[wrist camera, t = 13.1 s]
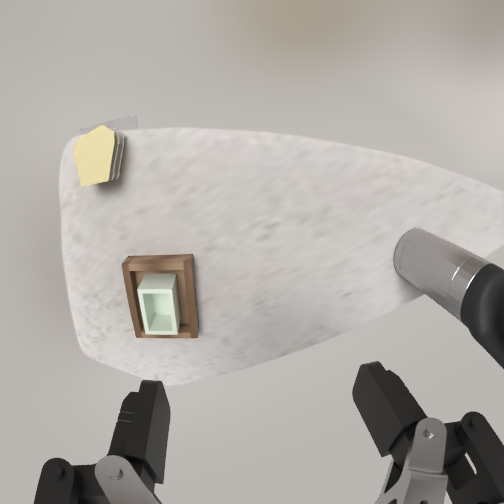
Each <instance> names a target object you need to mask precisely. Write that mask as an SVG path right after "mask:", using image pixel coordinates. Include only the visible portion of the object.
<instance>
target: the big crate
mask: <svg viewBox="0 0 504 504" xmlns="http://www.w3.org/2000/svg"><path fill="white" fill-rule="evenodd" d="M122 269H123V275H124V281H125V287H126V292H127V297H128V302H129V307H130V312H131V317H132V321H133V326H134V330H135V334H136V338H198V327H199V326H198V315H197V305H196V293H195V280H194V266H193V254H186V255H151V256H128V257H127V258H126V260H125V261H124V262H123V263H122ZM172 273H177V282H178V292H179V302H180V310H181V319H180V325H179V331H178V335H153V334H146V333H145V328H144V323H143V318H142V313H141V308H140V303H139V297H138V291H137V289H138V287H139V285H140V283H141V282H142V280H143V278H144V276H145V274H172Z"/></svg>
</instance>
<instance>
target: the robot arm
mask: <svg viewBox="0 0 504 504" xmlns="http://www.w3.org/2000/svg"><path fill="white" fill-rule="evenodd" d="M394 265H395V269H396V271H397V272H398V273H399V274H400V275H401V276H402V277H403V278H405V279H406V280H408V281H409V282H410V283H412V284H413V285H414V286H416V287H417V288H418V289H420V290H421V291H422V292H424V293H425V294H426V295H428V296H429V297H430V298H431V299H433V300H434V301H436V302H437V303H438V304H439V305H441V306H442V307H443V308H444V309H446V310H447V311H448V312H450V313H451V314H452V315H453V316H455V317H456V318H457V319H458V320H460V321H461V322H462V323H463V324H464V325H465V326H467V327H468V329H469V331H470V333H471V335H472V336H473V338H474V339H475V340H476V341H477V342H478V343H479V344H480V345H481V346H482V347H483V348H484V349H485V350H486V351H487V352H488V353H489V354H490V355H491V356H492V357H493V358H494V359H495V360H496V361H497V362H498V364H499V365H500V366H502V368H503V369H504V270H503V269H502V268H500V267H498V266H497V265H495V264H493V263H491V262H489V261H487V260H485V259H483V258H481V257H479V256H477V255H475V254H473V253H471V252H469V251H467V250H465V249H463V248H461V247H459V246H457V245H455V244H453V243H451V242H449V241H446V240H444V239H442V238H440V237H438V236H436V235H434V234H431V233H429V232H427V231H425V230H422V229H412V230H410V231H408V232H407V233H406V234H405V235H404V236H403V237H402V238H401V239H400V241H399V243H398V245H397V247H396V250H395V254H394ZM352 394H353V400H354V402H355V404H356V406H357V408H358V410H359V412H360V414H361V416H362V418H363V420H364V422H365V424H366V426H367V428H368V430H369V432H370V434H371V436H372V438H373V440H374V442H375V444H376V446H377V448H378V450H379V453H380V455H381V457H384V456H387V455H389V454H391V455H392V457H393V459H392V460H391V463H390V466H389V470H388V473H387V476H386V479H385V482H384V485H383V488H382V491H381V493H380V495H379V497H378V499H377V501H376V502H375V504H443V503H444V498H445V493H446V490H447V492H448V495H449V497H450V499H451V501H452V504H504V445H503V444H502V442H501V441H500V439H499V438H498V436H497V435H496V433H495V432H494V430H493V429H492V427H491V426H490V424H489V423H488V422H487V420H486V419H485V417H484V416H483V415H482V414H480V413H478V412H469V413H466V414H465V415H464V417H463V418H462V419H461V421H458V422H452V423H445V424H443V422H441V421H440V420H438V419H435V418H428V417H427V416H426V414H425V413H424V412H423V410H422V409H421V407H420V406H419V405H418V403H417V401H416V400H415V398H414V397H413V396H412V394H411V393H409V390H408V388H407V387H406V386H405V384H404V383H403V381H402V380H401V379H400V377H399V376H397V375H396V374H395V373H393V372H392V371H390V370H388V371H386V370H385V369H384V367H383V366H382V365H381V363H380V362H378V361H376V362H371V363H367V364H362V365H361V366H360V368H359V371H358V375H357V377H356V381H355V384H354V387H353V392H352ZM169 424H170V406H169V402H168V399H167V396H166V393H165V389H164V386H163V383H162V381H152V380H143V381H142V382H141V385H140V389H139V392H130V393H129V394H128V396H127V397H126V398H125V399H124V400H123V403H122V406H121V409H120V413H119V416H118V422H117V423H116V427H115V430H114V434H113V437H112V441H111V445H110V449H109V452H108V454H107V456H106V457H104V458H102V459H100V460H99V461H98V463H96V464H92V465H76V466H72V465H70V463H69V462H67V461H66V460H64V459H61V458H53V459H50V460H48V461H47V462H46V463H45V464H44V466H43V468H42V472H41V475H40V479H39V483H38V487H37V491H36V495H35V500H34V504H162V502H161V501H160V500H159V499H158V497H157V496H156V495H155V493H154V486H155V483H159V484H163V481H164V469H165V458H166V449H167V440H168V431H169ZM466 453H467V454H468V455H469V457H470V459H471V461H472V462H473V464H474V466H475V468H476V471H477V473H476V475H475V473H474V471H473V469H472V467H471V466H470V464H469V462H468V460H467V458H466V457H465V454H466Z"/></svg>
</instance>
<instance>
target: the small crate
mask: <svg viewBox="0 0 504 504" xmlns="http://www.w3.org/2000/svg"><path fill="white" fill-rule="evenodd" d="M137 291H138V297H139V303H140V308H141V313H142V318H143V323H144V328H145V333H146V334H153V335H178V331H179V325H180V319H181V310H180V302H179V292H178V282H177V273H172V274H145V276H144V278H143V280H142V282H141V283H140V285H139V287H138V289H137Z"/></svg>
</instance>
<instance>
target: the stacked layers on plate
mask: <svg viewBox="0 0 504 504" xmlns="http://www.w3.org/2000/svg"><path fill="white" fill-rule="evenodd" d="M80 130H81V135H82V134H86V135H84V136H83V137H81V138H80V139H78V140H77V142H76V143H75V145H74V149H73V153H74V158H75V162H76V167H77V171H78V175H79V179H80V183H81V186H82V187H83V186H88V185H92V184H97V183H101V182H106V181H110V180H115V179H118V177H119V176H120V173H119V170H120V164H121V158H122V152H123V147H124V137H123V133H121V132H120V131H118V130H138V125H137V115H132V116H128V117H123V118H119V119H115V120H111V121H107V122H104V123H99V124H96V125H92V126H89V127H86V128H82V129H80Z"/></svg>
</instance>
